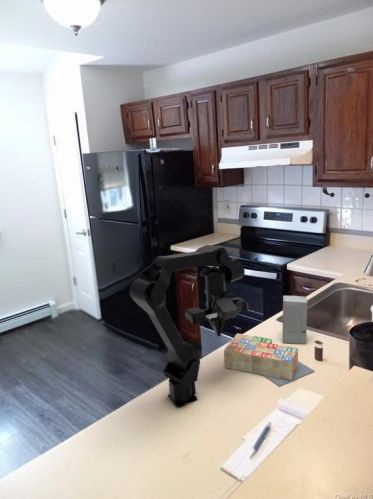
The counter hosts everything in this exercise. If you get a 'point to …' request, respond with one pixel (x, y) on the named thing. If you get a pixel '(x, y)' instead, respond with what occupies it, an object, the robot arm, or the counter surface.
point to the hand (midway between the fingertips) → (218, 336)
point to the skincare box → (294, 319)
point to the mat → (299, 372)
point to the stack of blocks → (261, 356)
